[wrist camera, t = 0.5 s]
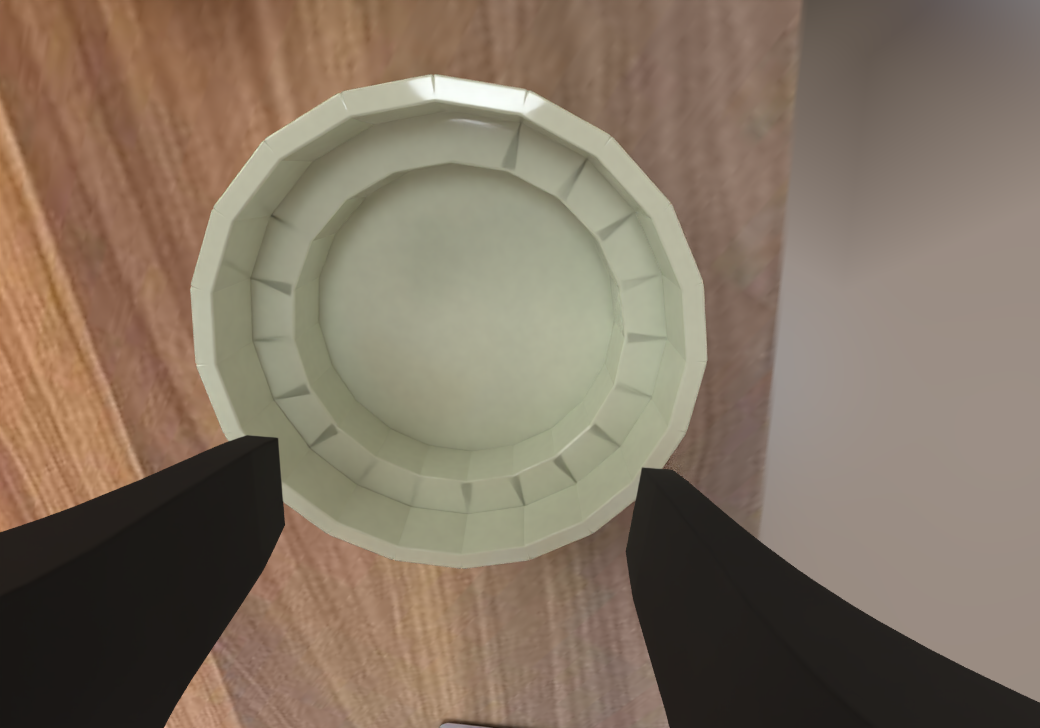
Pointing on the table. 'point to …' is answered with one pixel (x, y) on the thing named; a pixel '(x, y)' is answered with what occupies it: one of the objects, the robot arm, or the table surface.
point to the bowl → (450, 320)
